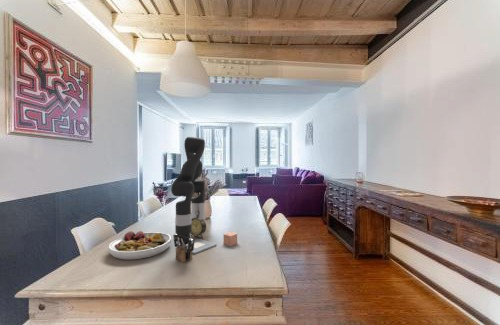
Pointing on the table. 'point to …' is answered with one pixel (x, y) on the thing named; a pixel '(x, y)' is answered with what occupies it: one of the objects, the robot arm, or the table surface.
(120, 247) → the bowl
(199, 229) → the alarm clock
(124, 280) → the table surface
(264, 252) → the table surface
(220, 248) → the table surface
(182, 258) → the walnut block
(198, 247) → the grey square plate
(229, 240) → the terracotta block
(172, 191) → the robot arm
